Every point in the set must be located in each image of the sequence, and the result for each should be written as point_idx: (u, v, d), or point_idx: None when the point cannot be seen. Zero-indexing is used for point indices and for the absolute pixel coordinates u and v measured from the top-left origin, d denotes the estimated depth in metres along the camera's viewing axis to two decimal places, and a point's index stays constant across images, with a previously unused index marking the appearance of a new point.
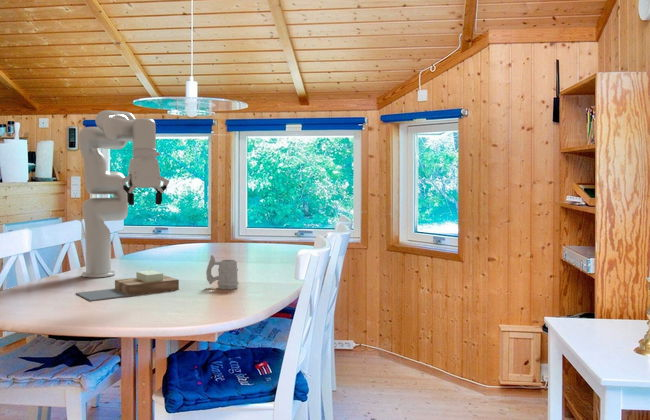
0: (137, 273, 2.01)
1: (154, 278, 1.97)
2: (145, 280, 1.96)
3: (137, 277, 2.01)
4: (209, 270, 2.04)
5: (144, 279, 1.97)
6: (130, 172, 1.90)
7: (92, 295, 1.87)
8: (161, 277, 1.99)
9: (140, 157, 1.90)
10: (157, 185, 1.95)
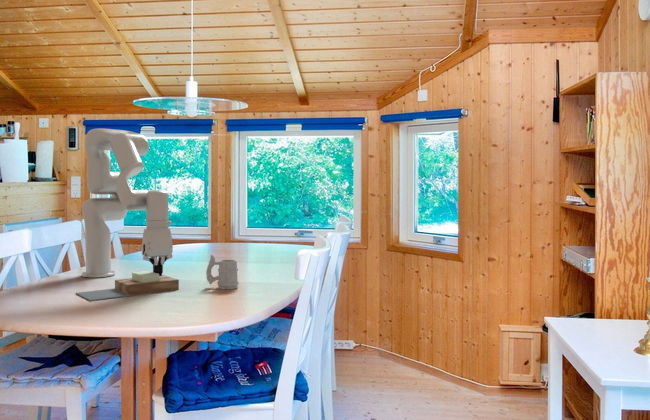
0: (133, 274, 2.00)
1: (150, 279, 1.96)
2: (141, 281, 1.95)
3: (133, 278, 2.00)
4: (209, 270, 2.04)
5: (140, 280, 1.95)
6: (144, 242, 1.99)
7: (92, 295, 1.87)
8: (157, 277, 1.98)
9: (154, 228, 1.98)
10: (169, 253, 2.03)
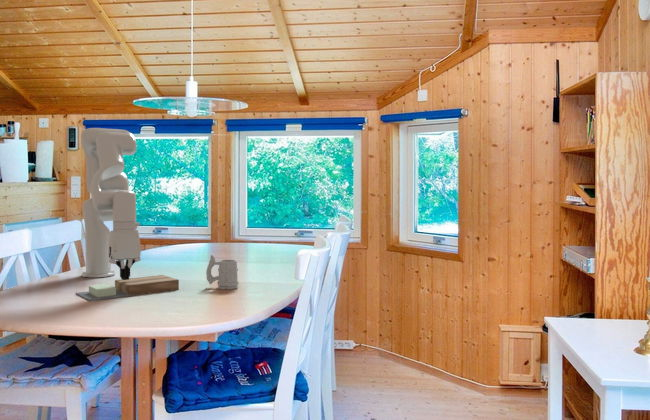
0: None
1: (107, 291, 1.86)
2: None
3: None
4: (209, 270, 2.04)
5: None
6: (110, 245, 1.91)
7: (92, 295, 1.87)
8: (99, 292, 1.85)
9: (120, 230, 1.90)
10: (137, 256, 1.95)
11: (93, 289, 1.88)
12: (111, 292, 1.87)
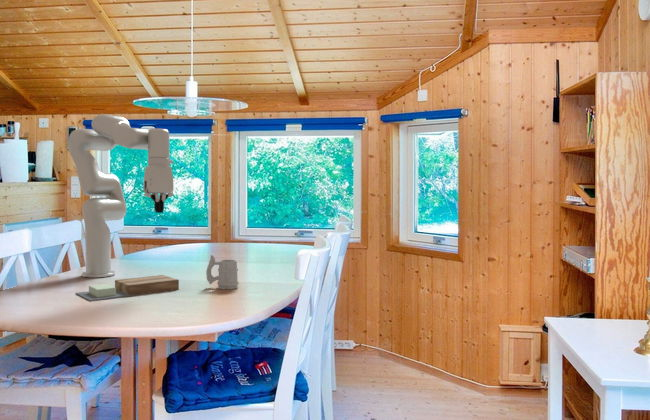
0: None
1: (107, 291, 1.86)
2: None
3: None
4: (209, 270, 2.04)
5: None
6: (145, 179, 2.03)
7: (92, 295, 1.87)
8: (99, 292, 1.85)
9: (155, 165, 2.02)
10: (170, 191, 2.08)
11: (93, 289, 1.88)
12: (111, 292, 1.87)
